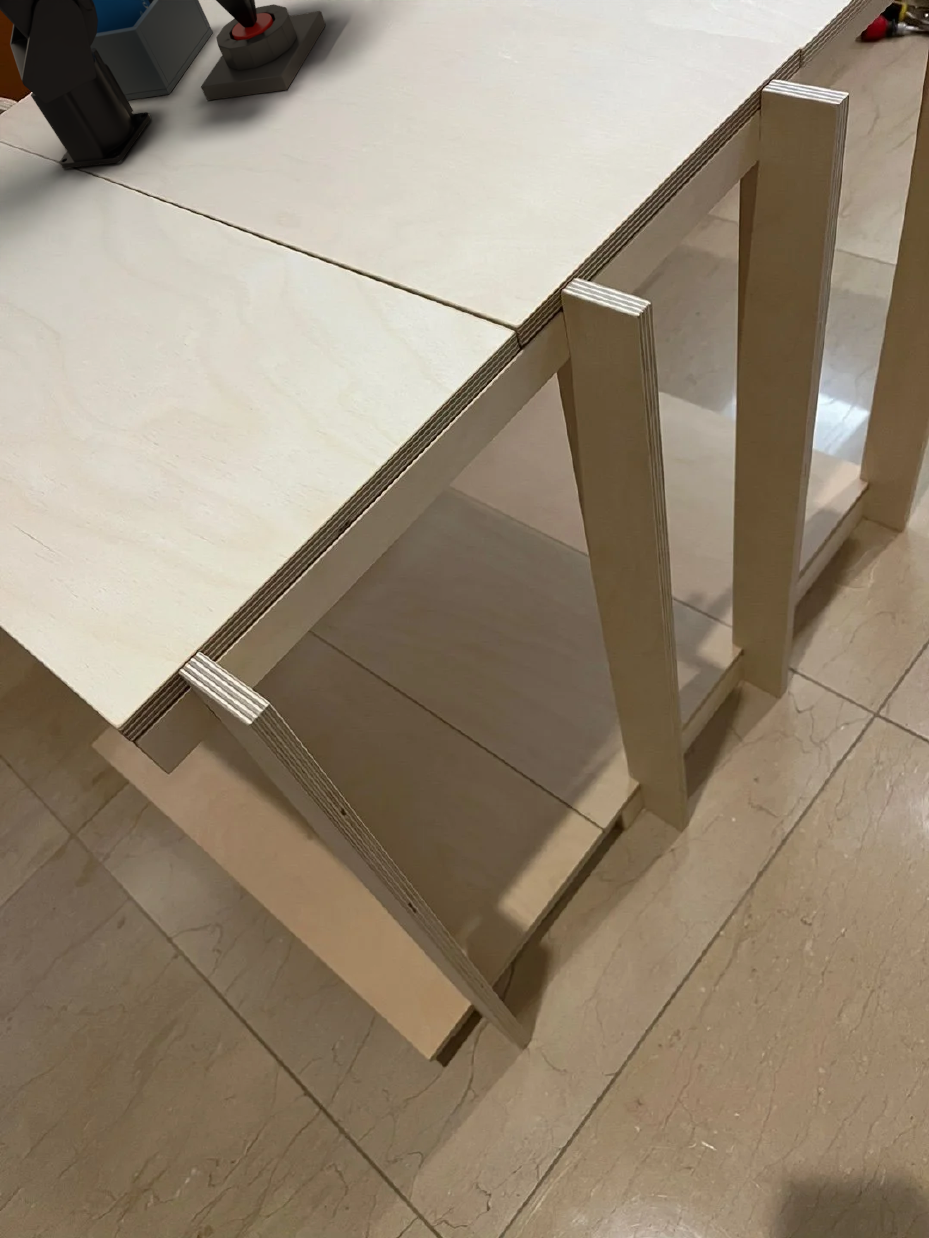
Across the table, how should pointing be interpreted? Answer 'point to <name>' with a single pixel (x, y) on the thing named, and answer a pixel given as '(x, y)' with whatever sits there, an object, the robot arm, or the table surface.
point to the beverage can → (118, 13)
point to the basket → (155, 47)
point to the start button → (259, 27)
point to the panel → (263, 55)
